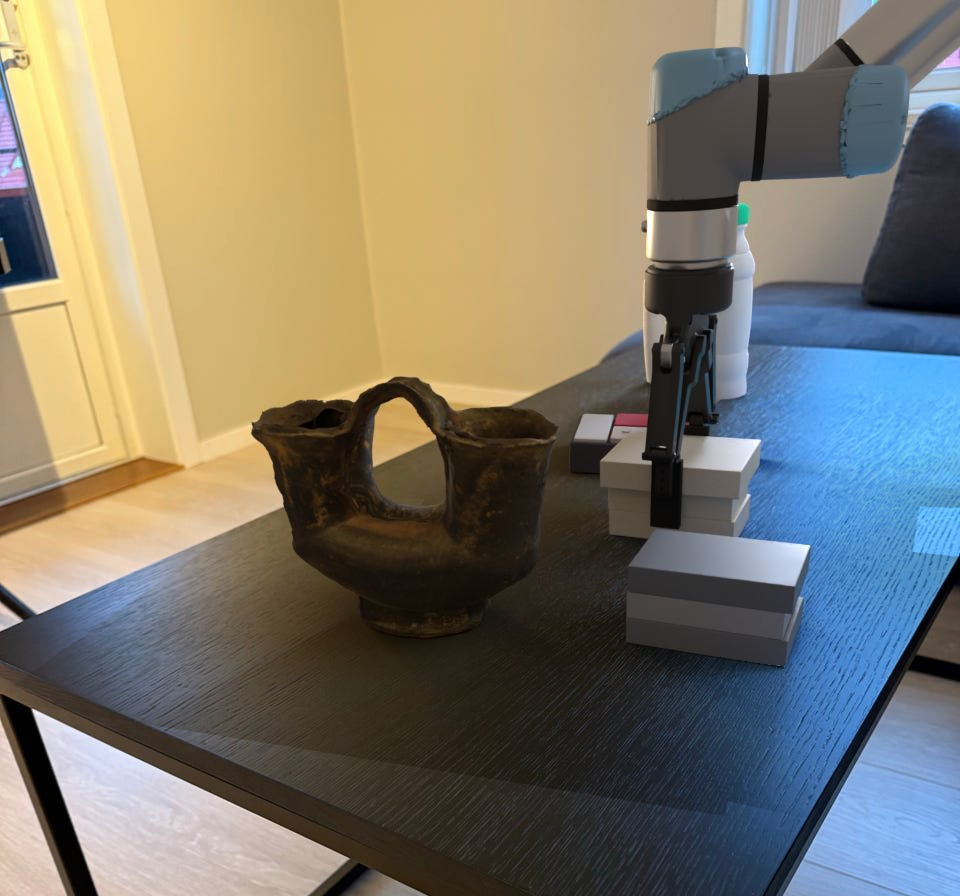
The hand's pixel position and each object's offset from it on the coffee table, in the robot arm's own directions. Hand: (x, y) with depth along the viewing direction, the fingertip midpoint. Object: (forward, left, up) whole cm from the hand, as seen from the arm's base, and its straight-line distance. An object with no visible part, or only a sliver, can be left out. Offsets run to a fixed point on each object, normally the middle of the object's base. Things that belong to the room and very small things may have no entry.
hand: (679, 507), depth 91 cm
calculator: (+10, -19, -2) cm, 22 cm away
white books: (0, 0, -2) cm, 2 cm away
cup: (+16, -54, -2) cm, 56 cm away
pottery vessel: (+16, +24, -2) cm, 29 cm away
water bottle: (+6, -44, -2) cm, 44 cm away
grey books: (-8, +20, -2) cm, 22 cm away
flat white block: (0, 0, +3) cm, 3 cm away
